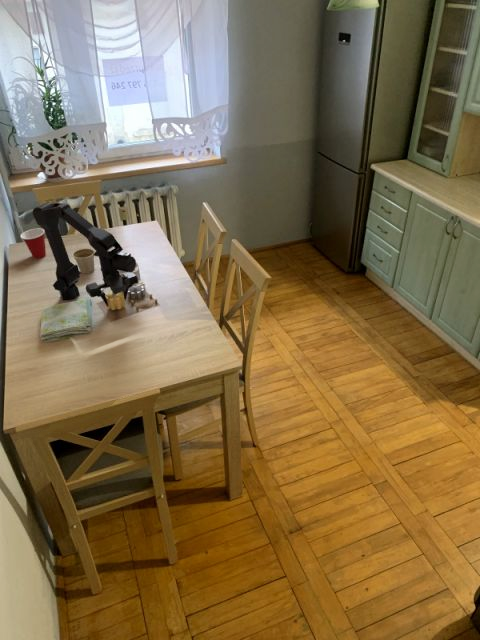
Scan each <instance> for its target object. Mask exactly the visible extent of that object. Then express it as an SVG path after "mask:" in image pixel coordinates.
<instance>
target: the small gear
mask: <svg viewBox="0 0 480 640" xmlns="http://www.w3.org/2000/svg"><path fill="white" fill-rule="evenodd" d="M138 281H139V280H138ZM137 285H140V286H143V287H144V289H145V288H146V282H145V281H144V280H141V281H139V282H138V283H137V284H134V286H137Z"/></svg>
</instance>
